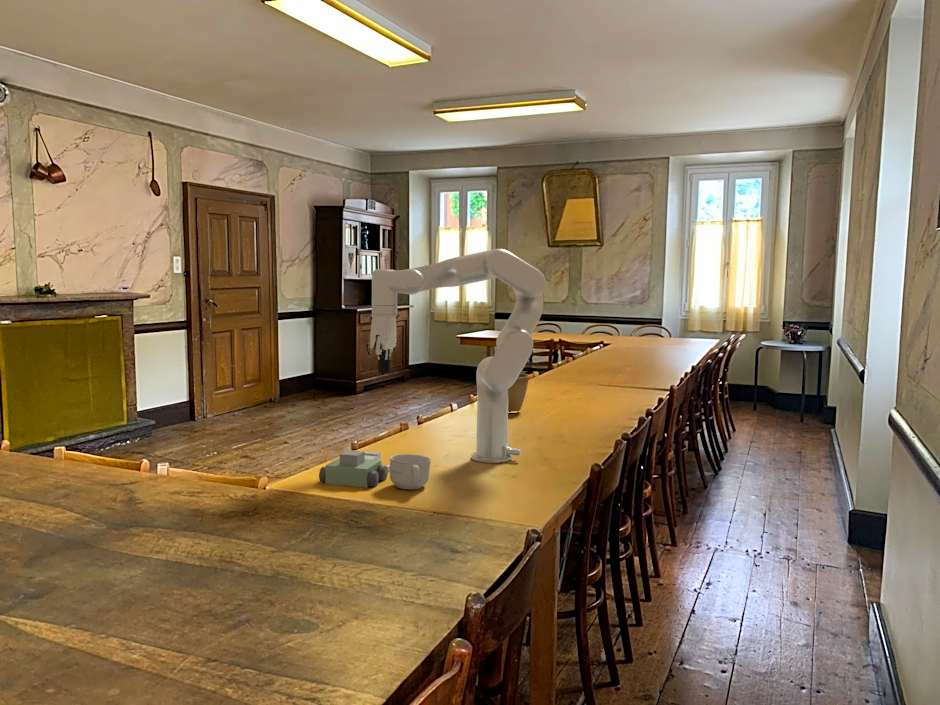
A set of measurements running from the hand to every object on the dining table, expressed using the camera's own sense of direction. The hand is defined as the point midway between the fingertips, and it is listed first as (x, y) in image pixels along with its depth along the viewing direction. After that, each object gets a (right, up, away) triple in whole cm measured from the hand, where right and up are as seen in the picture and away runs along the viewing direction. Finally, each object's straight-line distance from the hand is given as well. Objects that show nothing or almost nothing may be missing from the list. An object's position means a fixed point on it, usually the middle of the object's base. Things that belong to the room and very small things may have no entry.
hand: (384, 372), depth 215 cm
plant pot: (+43, -19, +88) cm, 100 cm away
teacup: (+10, -30, -25) cm, 40 cm away
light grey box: (-4, -28, -10) cm, 30 cm away
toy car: (-5, -29, -14) cm, 32 cm away
